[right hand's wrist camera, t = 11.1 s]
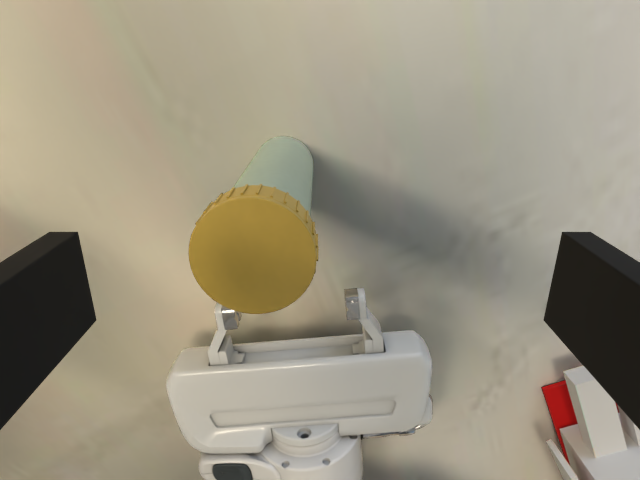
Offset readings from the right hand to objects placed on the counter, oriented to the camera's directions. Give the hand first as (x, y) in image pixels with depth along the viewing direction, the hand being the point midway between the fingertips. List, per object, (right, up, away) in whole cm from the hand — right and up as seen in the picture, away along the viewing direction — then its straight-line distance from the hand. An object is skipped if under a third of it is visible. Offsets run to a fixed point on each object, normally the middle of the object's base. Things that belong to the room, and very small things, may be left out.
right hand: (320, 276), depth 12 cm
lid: (-3, 0, +7) cm, 7 cm away
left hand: (-2, -3, +20) cm, 21 cm away
